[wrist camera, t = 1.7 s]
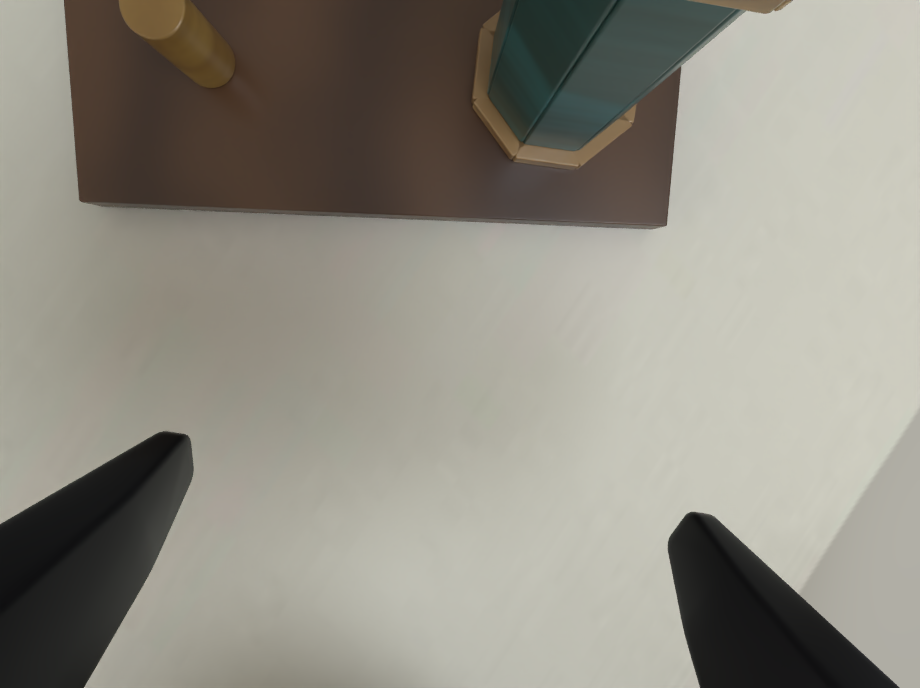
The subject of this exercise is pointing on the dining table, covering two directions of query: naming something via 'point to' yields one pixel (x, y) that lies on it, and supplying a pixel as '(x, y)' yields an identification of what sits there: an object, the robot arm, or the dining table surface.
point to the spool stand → (328, 117)
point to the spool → (584, 68)
